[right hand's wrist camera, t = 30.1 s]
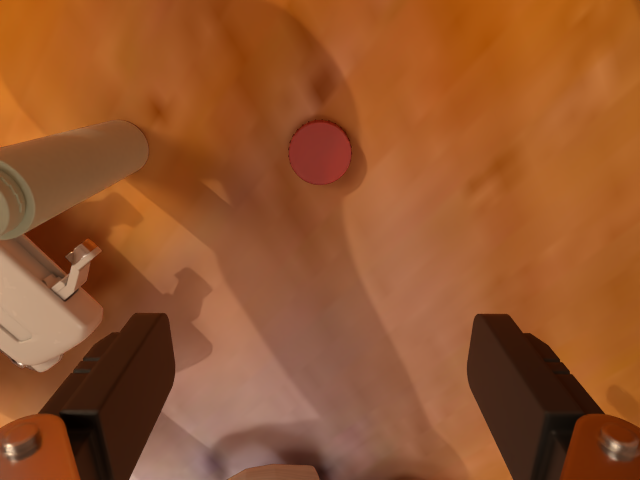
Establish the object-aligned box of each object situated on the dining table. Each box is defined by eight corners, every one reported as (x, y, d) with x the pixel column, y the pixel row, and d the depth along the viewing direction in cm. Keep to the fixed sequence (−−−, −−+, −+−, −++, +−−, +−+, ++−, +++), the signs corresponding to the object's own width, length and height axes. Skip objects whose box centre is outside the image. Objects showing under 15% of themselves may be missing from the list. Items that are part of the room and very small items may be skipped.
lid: (300, 189, 40) (299, 193, 38) (280, 130, 38) (278, 133, 36) (358, 170, 39) (359, 174, 38) (340, 110, 37) (341, 112, 36)
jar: (132, 111, 37) (-20, 145, 21) (158, 162, 39) (36, 232, 22) (85, 131, 38) (-101, 180, 21) (112, 180, 40) (-40, 261, 23)
